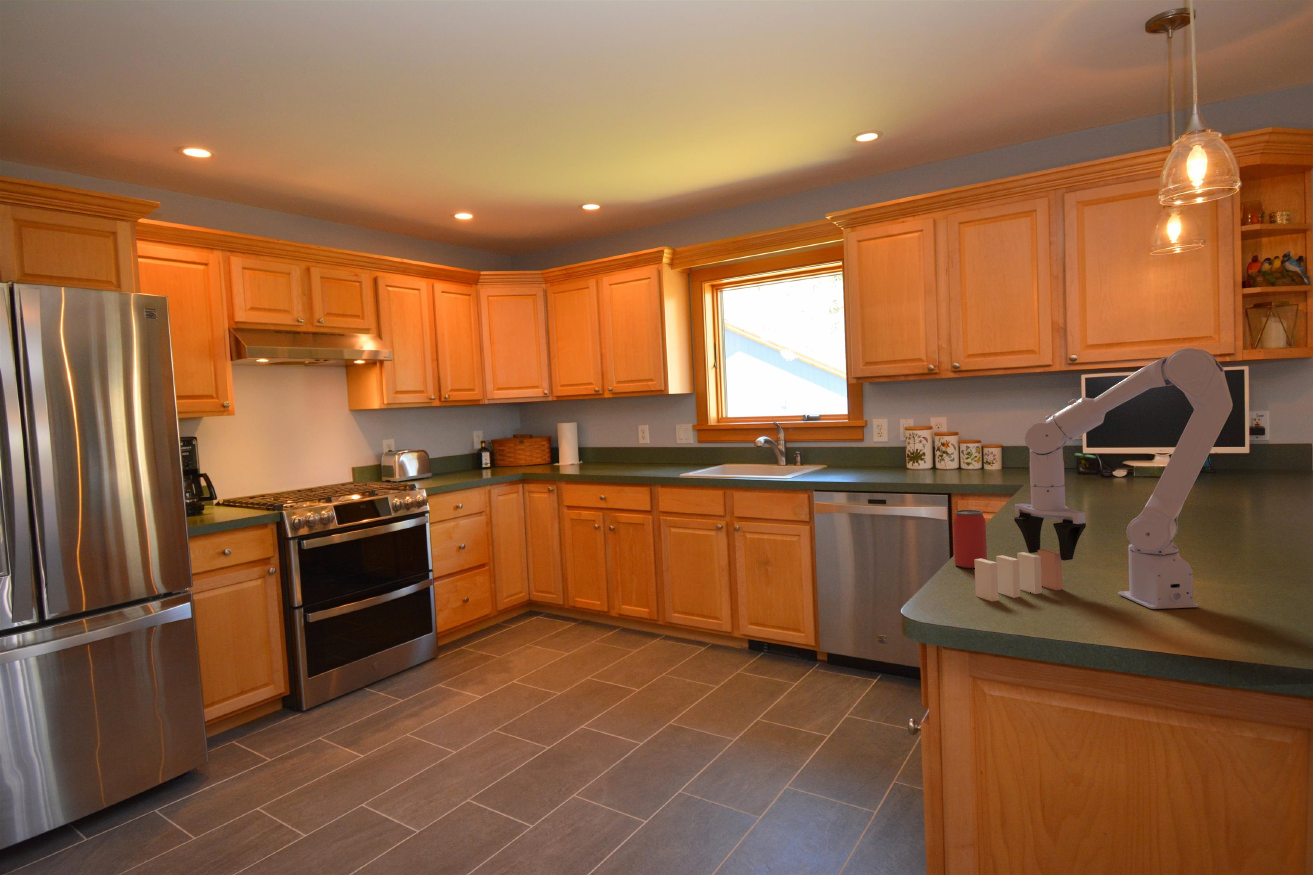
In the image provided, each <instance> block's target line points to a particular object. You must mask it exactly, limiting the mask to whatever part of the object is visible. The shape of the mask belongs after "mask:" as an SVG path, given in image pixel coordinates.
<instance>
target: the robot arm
mask: <svg viewBox="0 0 1313 875" xmlns="http://www.w3.org/2000/svg"><path fill="white" fill-rule="evenodd" d="M1173 385H1174V386H1175V387H1177V389H1179V390H1180V391H1182V392H1183V393H1184V396H1185V397H1186V399H1187V400H1188V402H1189V404H1190V405H1191V407H1192V408H1193V412H1192V413H1191V416H1190V418H1189V419H1188V422H1187V423H1186V425H1185V428H1184V429H1183V431H1182V434H1181V435H1180V437H1179V439H1178V442H1177V444H1176V446H1175V448H1174V450H1173V452H1172V454H1171V456H1170V458H1169V460H1168V462H1167V464H1166V466H1165V468H1164V470H1163V472H1162V473H1161V476H1160V478H1159V480H1158V482H1157V483H1156V486H1155V488H1154V490H1153V492H1152V494H1151V496H1150V497H1149V499H1148V501H1147V502H1146V504H1145V506H1144V507H1143V509H1142V511H1141V512H1140V513H1139V514H1138V515H1137V517H1134V518H1133V519H1132V520H1130V522H1129V523H1128V525H1126V526H1127V527H1126V532H1125V533H1126V537H1127V539H1128V541H1129V543H1130V544H1128V548H1127V549H1128V578H1129V579H1128V580H1129V581H1128V585H1129V586H1128V587H1129V590H1125V591H1124V590H1123V591H1118V593H1117V594H1118V595H1119V596H1121V597H1124V598H1126V599H1129V600H1131V601H1133V602H1134V603H1137V604H1139V605H1142V606H1144V607H1145V608H1148V609H1151V610H1157V609H1158V610H1161V609H1180V608H1185V609H1186V608H1199V607H1200V604H1199V603H1197V602H1194V571H1193V569H1192V567H1191V564H1189V562H1187V560H1185V559H1183V558H1182V557H1181V555H1180V552H1179V550H1180V549H1179V546H1178V545H1176V543H1175V541H1173V539H1174V538H1175V537H1176V535H1177V534H1178V531H1179V524H1178V519H1179V515H1180V513H1181V511H1182V509H1183V506H1184V504H1185V501H1186V500H1187V499H1188V496H1189V494H1190V492H1191V490H1192V488H1193V486H1194V484H1195V482H1196V480H1197V478H1198V476H1199V474H1200V472H1201V470H1202V469H1203V467H1204V465H1205V462H1206V461H1207V459H1208V458H1209V455H1210V453H1211V450H1212V449H1213V447H1214V445H1215V443H1216V441H1217V439H1218V437H1219V436H1220V433H1221V431H1222V430H1223V428H1224V426H1225V424H1226V422H1227V420H1228V418H1229V416H1230V414H1231V412H1232V410H1233V406H1234V405H1233V400H1232V396H1231V393H1230V390H1229V389H1230V388H1229V385H1228V381H1227V378H1226V374H1225V368H1224V367H1223V366H1222V365H1221V363H1220V362H1219V361H1218V360H1217V358H1216V357H1215V356H1214V355H1213V354H1212V353H1210V352H1209V351H1207V350H1204V349H1199V348H1193V347H1192V348H1191V347H1190V348H1187V347H1186V348H1181V349H1178V350H1177V351H1174V352H1172V354H1171V353H1170V355H1169V356H1168V357H1167V356H1165V357H1163V358H1162V357H1161V358H1160V359H1157V360H1156V361H1153V362H1151V363H1149V364H1147V365H1146V366H1143V367H1142V368H1140V369H1138V370H1137V371H1135V372H1134V373H1132V374H1131V375H1129V376H1128V377H1126V378H1124V379H1123V380H1122V381H1119V382H1118V383H1116V384H1115V385H1113V386H1111V387H1110V388H1109V389H1107V390H1106V391H1104V392H1103V393H1101V394H1100V395H1097V397H1095V398H1090V397H1081V398H1079V399H1077V398H1073V399H1071V400H1069V401H1068V402H1067V404H1068V405H1067V406H1066V407H1064V408H1062V409H1061V410H1059V411H1058V412H1055V413H1054V414H1048V415H1046V416H1045V417H1044V419H1045V422H1036V423H1034V424H1033V425H1032V426H1031V427H1030V428H1028V430H1027V431H1026V433H1025V437H1024V442H1025V445H1026V447H1027V448H1028V449H1029V478H1030V479H1029V481H1030V484H1029V485H1030V503H1023V502H1022V503H1015V504H1014V514H1015V515H1018V516H1015V517H1013V518H1014V522H1015V524H1016V526H1017V527H1018V528H1019V530H1020V532H1021V534H1022V537H1023V539H1024V541H1025V545H1026V548H1027V553H1029V554H1034V553H1038V550H1041V532H1042V527H1043V522H1044V521H1045V519H1050V520H1056V521H1061V522H1054V523H1053V524H1052V526H1053V527H1054V529H1055V532H1056V535H1057V540H1058V544H1059V545H1058V546H1059V553H1060V557H1061V560H1062V561H1064V562H1065V561H1070V560H1072V561H1073V559H1074V555H1075V550H1076V548H1077V544H1078V541H1079V539H1080V536H1081V535H1082V533H1083V532H1084V530H1085V529H1086V527H1087V523H1086V518H1087V517H1086V512H1084V511H1079V510H1075V509H1071V508H1069V506H1067V505H1066V487H1065V486H1066V485H1065V462H1064V453H1063V452H1064V451H1063V450H1064V449H1063V447H1065V445H1066V443H1067V442H1073V441H1074V440H1075V439H1077V438H1079V437H1081V436H1083V435H1084V434H1086V433H1088V432H1089V431H1091V430H1093V429H1095V428H1096V427H1099V426H1100V425H1102V424H1103V423H1104V420H1105V417H1106V413H1108V412H1109V411H1112V410H1113V409H1115V408H1116V407H1119V406H1120V405H1123V404H1124V403H1125V402H1127V401H1129V400H1131V399H1133V398H1135V397H1137V396H1139V395H1141V394H1143V393H1144V392H1146V391H1148V390H1149V389H1153V388H1161V387H1169V386H1173Z"/></svg>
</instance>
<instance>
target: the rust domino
mask: <svg viewBox="0 0 1313 875" xmlns="http://www.w3.org/2000/svg"><path fill="white" fill-rule="evenodd" d="M1037 555H1038V556H1041V587H1042V586H1043V588H1046V589H1050V590H1053V591H1061V589H1062V590H1063V566H1062V564H1063V562H1062V561H1063V560H1061V557H1060V551H1054V550H1049V549H1045V548H1042V549H1041V548H1040V550H1038V552H1037Z"/></svg>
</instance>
